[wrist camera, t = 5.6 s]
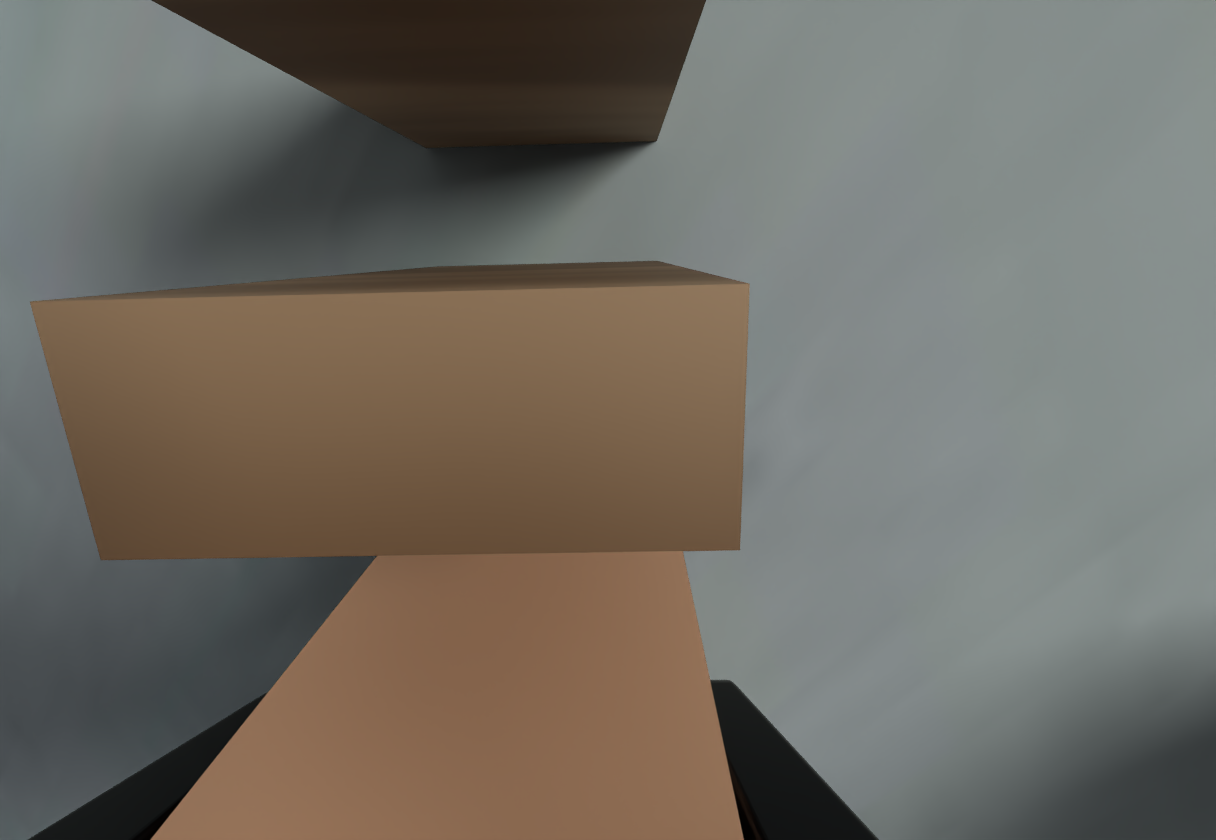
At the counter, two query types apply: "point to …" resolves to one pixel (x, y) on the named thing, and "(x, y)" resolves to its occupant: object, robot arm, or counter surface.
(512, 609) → the domino
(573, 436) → the domino
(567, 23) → the domino
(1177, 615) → the counter surface
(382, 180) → the counter surface
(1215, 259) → the counter surface
